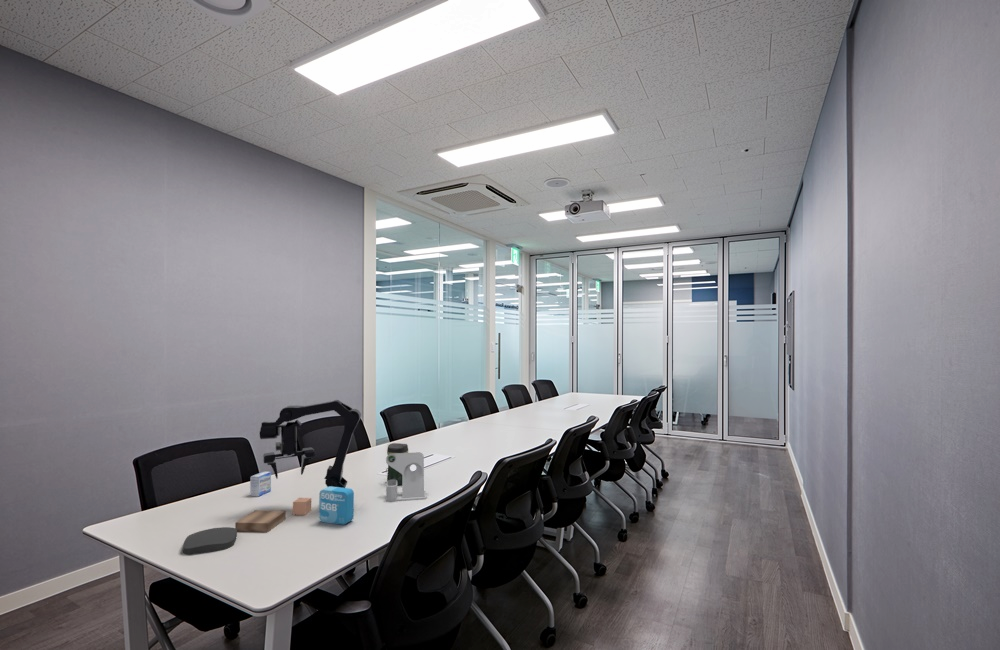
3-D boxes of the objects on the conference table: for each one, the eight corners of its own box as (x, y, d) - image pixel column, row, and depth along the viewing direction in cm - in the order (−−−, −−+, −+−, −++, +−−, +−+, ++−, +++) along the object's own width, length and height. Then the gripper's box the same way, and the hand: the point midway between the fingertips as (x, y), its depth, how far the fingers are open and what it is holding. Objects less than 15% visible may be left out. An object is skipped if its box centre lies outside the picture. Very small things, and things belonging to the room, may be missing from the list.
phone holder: (385, 502, 196) (385, 458, 197) (385, 494, 206) (386, 453, 207) (427, 499, 200) (427, 456, 200) (425, 491, 210) (426, 451, 210)
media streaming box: (179, 557, 146) (180, 548, 146) (189, 539, 160) (189, 530, 160) (233, 549, 152) (233, 540, 152) (238, 532, 166) (238, 524, 166)
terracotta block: (311, 510, 186) (311, 497, 186) (305, 515, 181) (305, 502, 182) (298, 510, 187) (299, 497, 187) (292, 515, 182) (292, 501, 182)
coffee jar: (410, 481, 225) (410, 442, 226) (403, 486, 217) (403, 445, 218) (392, 479, 227) (392, 441, 228) (384, 484, 220) (384, 444, 220)
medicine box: (258, 497, 202) (259, 476, 202) (249, 496, 203) (250, 476, 203) (271, 491, 210) (271, 471, 210) (262, 490, 211) (262, 471, 211)
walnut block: (285, 519, 177) (285, 511, 177) (268, 531, 165) (268, 523, 165) (254, 518, 178) (254, 510, 178) (235, 531, 166) (235, 522, 166)
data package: (318, 521, 175) (319, 489, 175) (326, 517, 179) (326, 485, 179) (346, 525, 171) (347, 492, 172) (353, 520, 176) (354, 488, 176)
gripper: (310, 431, 201) (310, 468, 201) (261, 437, 192) (262, 475, 191) (314, 435, 192) (315, 474, 191) (263, 442, 182) (264, 482, 182)
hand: (289, 476), depth 189 cm, fingers open, 9 cm apart
